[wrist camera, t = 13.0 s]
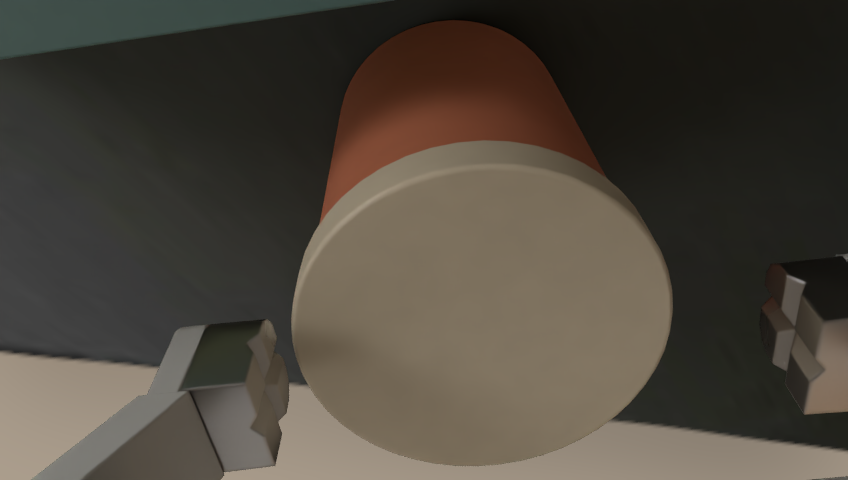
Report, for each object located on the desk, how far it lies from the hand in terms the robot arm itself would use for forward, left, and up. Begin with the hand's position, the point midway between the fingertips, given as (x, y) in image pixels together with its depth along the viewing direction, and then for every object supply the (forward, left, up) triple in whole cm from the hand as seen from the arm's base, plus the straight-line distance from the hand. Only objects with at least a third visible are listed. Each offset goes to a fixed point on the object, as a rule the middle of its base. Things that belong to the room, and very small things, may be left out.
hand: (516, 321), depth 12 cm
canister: (+1, +1, -9) cm, 9 cm away
